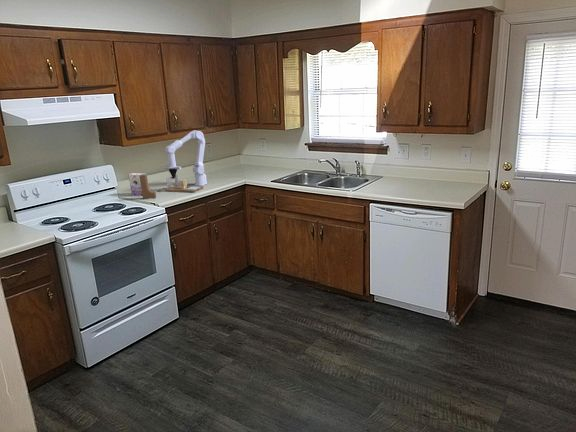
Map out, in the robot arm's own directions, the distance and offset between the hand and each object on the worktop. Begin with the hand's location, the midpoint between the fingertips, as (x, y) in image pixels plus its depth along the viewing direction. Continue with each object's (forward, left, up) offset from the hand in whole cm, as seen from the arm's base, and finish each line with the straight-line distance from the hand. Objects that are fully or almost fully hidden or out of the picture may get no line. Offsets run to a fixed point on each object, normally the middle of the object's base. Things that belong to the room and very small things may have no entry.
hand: (174, 178), depth 358 cm
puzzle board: (0, +8, -9) cm, 13 cm away
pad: (0, +17, -8) cm, 19 cm away
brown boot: (+27, -4, -10) cm, 29 cm away
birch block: (0, +8, -10) cm, 12 cm away
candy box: (+18, -20, -10) cm, 29 cm away
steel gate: (0, -2, -8) cm, 8 cm away
